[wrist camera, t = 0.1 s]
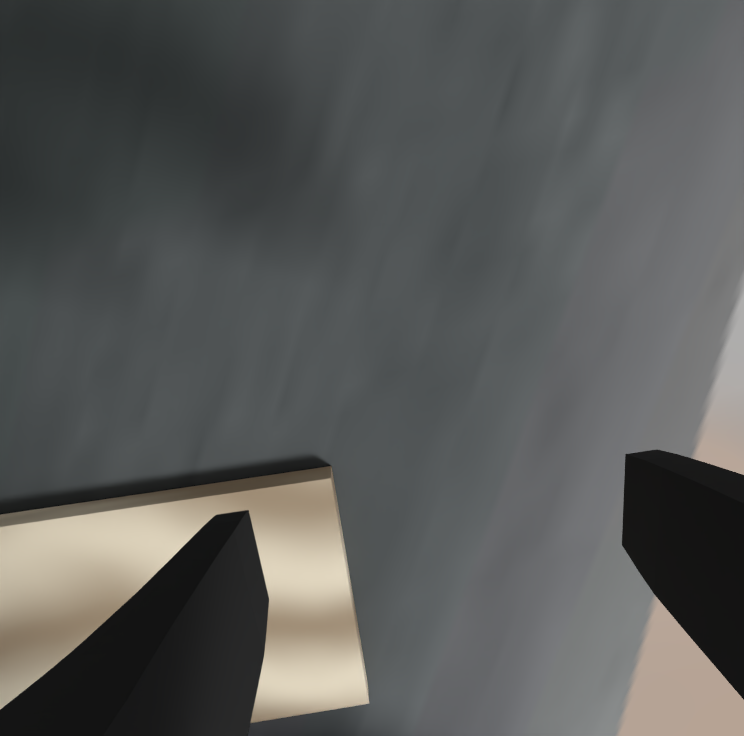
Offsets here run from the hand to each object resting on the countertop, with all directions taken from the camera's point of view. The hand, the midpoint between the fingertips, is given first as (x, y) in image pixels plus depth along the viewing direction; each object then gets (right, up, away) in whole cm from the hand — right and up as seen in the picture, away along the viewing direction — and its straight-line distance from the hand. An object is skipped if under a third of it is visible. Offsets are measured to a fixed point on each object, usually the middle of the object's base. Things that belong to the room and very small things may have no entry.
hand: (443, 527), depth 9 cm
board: (-10, -8, +12) cm, 18 cm away
